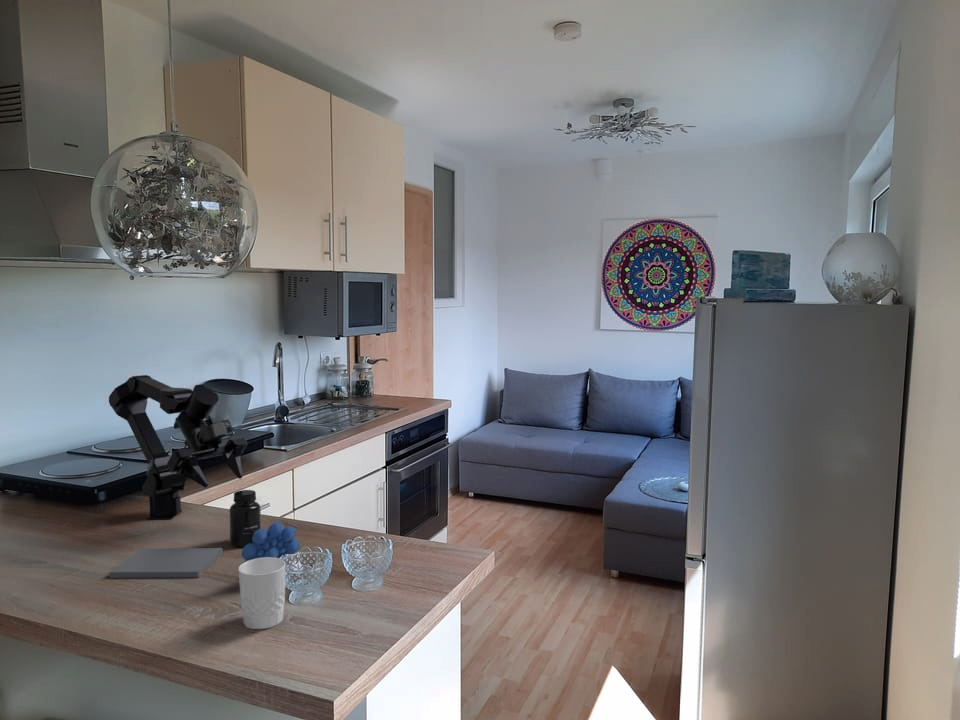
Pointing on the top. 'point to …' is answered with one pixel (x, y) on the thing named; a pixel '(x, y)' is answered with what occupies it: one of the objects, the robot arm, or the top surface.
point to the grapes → (271, 543)
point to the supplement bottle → (244, 518)
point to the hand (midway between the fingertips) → (224, 481)
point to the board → (167, 563)
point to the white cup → (262, 592)
